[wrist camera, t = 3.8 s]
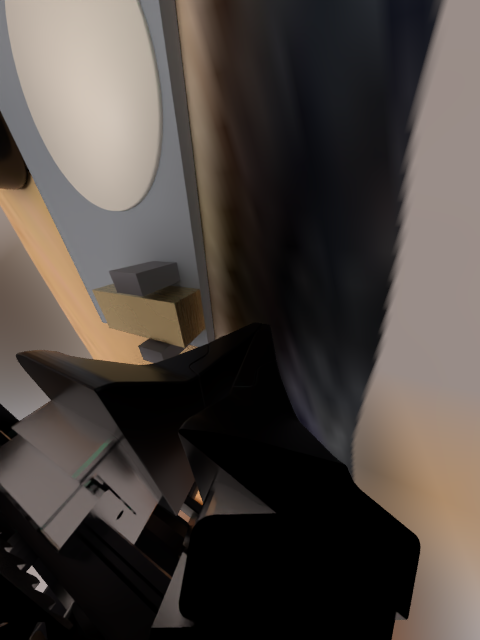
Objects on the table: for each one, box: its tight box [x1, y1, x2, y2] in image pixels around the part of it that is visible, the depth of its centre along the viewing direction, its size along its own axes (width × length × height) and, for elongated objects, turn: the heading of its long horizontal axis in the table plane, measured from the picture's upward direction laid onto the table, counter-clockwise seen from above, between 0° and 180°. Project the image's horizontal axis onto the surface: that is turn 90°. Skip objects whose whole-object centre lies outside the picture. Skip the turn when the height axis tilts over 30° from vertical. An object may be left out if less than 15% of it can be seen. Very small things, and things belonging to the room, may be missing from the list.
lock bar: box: [92, 284, 206, 348], centre depth 12 cm, size 3×7×2 cm, turn 93°
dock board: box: [0, 0, 215, 363], centre depth 10 cm, size 19×13×4 cm
